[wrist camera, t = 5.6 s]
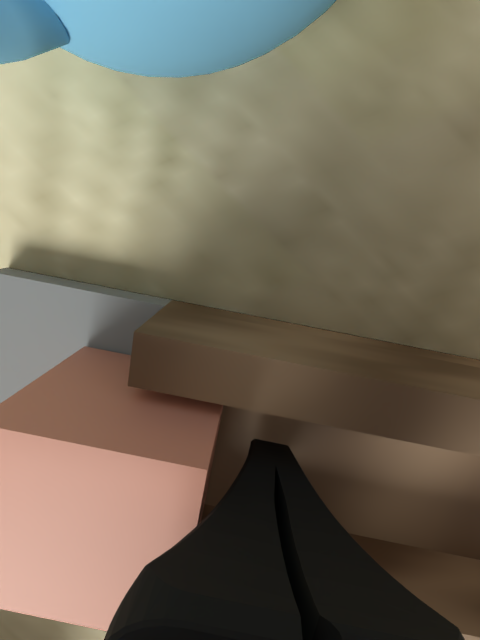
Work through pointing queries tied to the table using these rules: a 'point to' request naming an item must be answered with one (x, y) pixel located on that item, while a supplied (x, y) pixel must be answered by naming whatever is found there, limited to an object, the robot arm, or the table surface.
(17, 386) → the shelf
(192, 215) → the table surface
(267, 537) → the robot arm
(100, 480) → the block
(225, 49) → the teapot
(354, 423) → the chute
